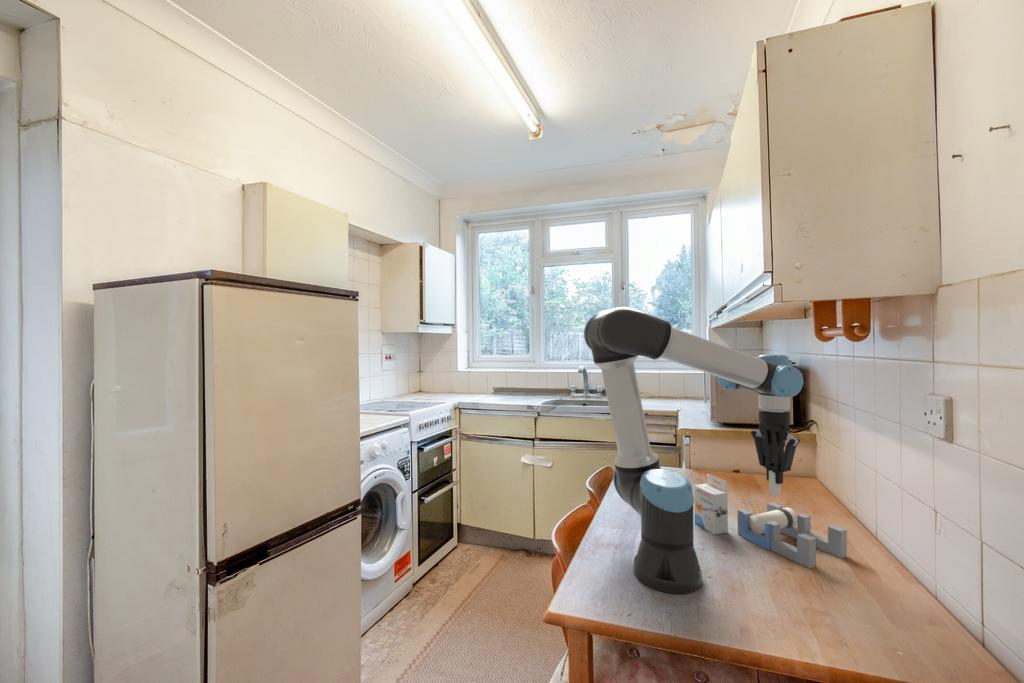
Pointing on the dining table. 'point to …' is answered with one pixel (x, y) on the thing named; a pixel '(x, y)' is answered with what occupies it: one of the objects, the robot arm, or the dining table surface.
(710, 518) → the ink box
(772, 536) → the bracket
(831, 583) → the dining table surface
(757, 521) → the banded white cylinder
